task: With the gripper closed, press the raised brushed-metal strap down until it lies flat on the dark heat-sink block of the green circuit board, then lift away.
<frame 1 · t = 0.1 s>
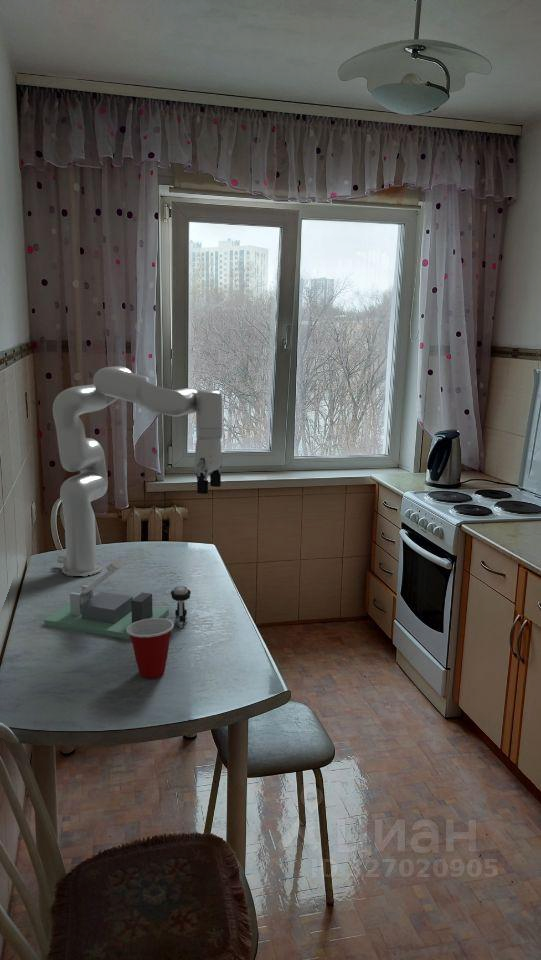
hand: (209, 489, 209), 31 cm above the table, tool pointing down, fingers open, 9 cm apart
retention strap: (98, 579, 191), point 11 cm above the table, hinge at 40.0°
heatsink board: (108, 619, 192), on the table
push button: (181, 625, 190), on the table
plastic cup: (151, 673, 164), on the table
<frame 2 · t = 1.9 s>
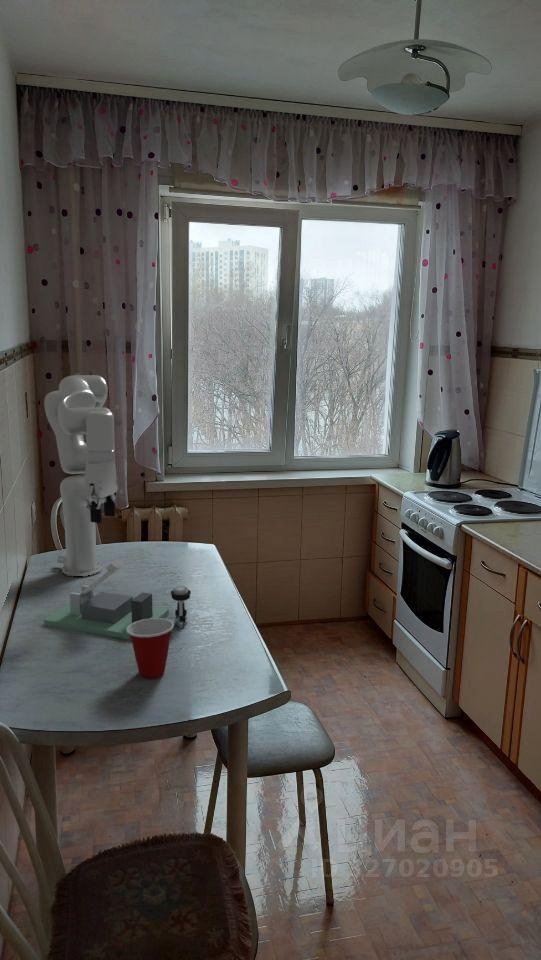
hand: (103, 518, 197), 26 cm above the table, tool pointing down, fingers open, 6 cm apart
nothing on the table moved.
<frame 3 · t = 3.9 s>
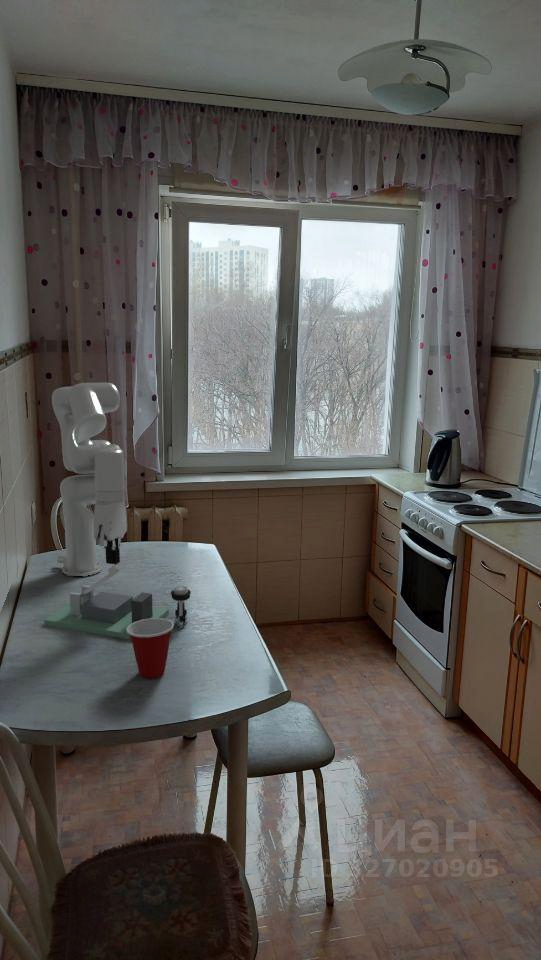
hand: (113, 562, 188), 17 cm above the table, tool pointing down, fingers closed
retention strap: (99, 580, 191), point 11 cm above the table, hinge at 37.0°, touching gripper
everything else where it was.
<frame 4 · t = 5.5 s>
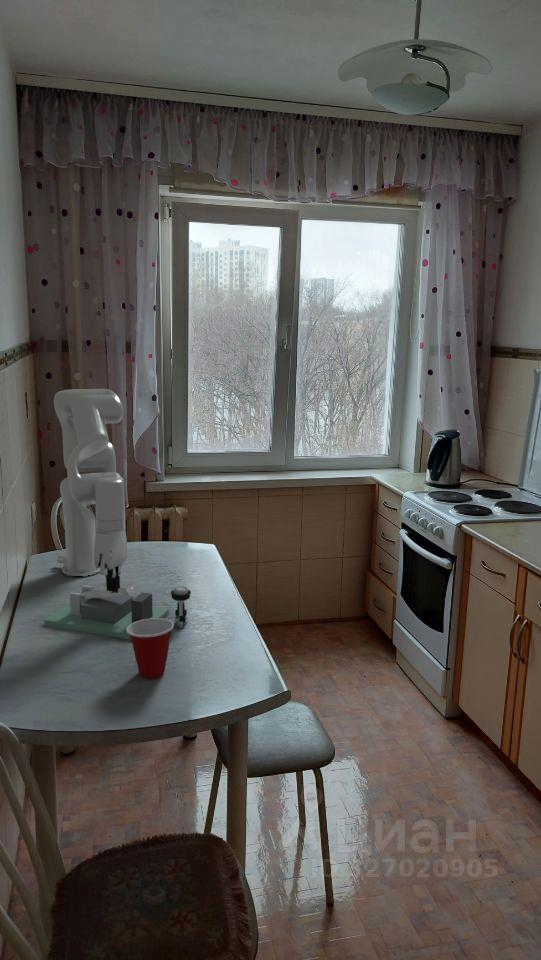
hand: (113, 590, 189), 9 cm above the table, tool pointing down, fingers closed
retention strap: (105, 591, 191), point 8 cm above the table, hinge at 12.0°, touching gripper
everything else where it was.
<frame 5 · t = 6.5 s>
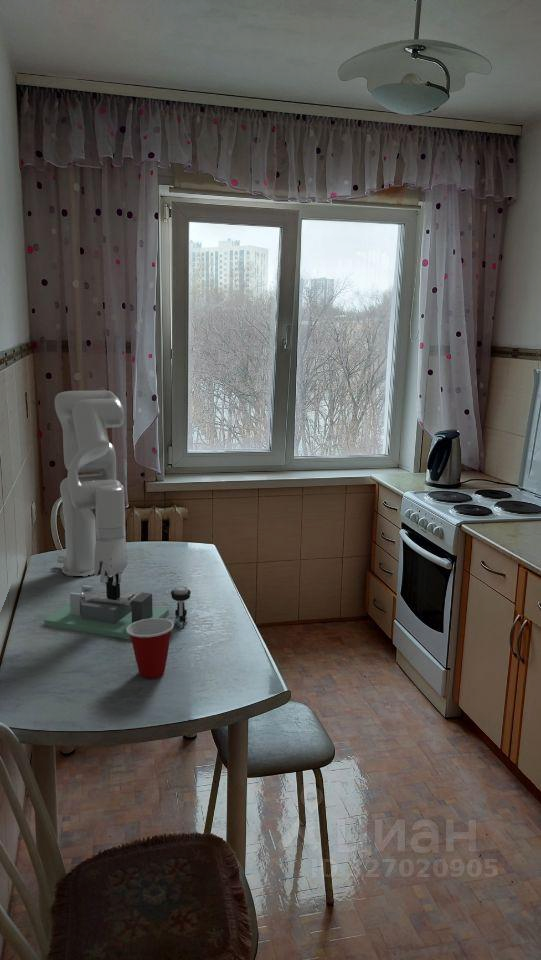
hand: (113, 597, 190), 7 cm above the table, tool pointing down, fingers closed
retention strap: (106, 596, 191), point 7 cm above the table, hinge at 2.0°, touching gripper
everything else where it was.
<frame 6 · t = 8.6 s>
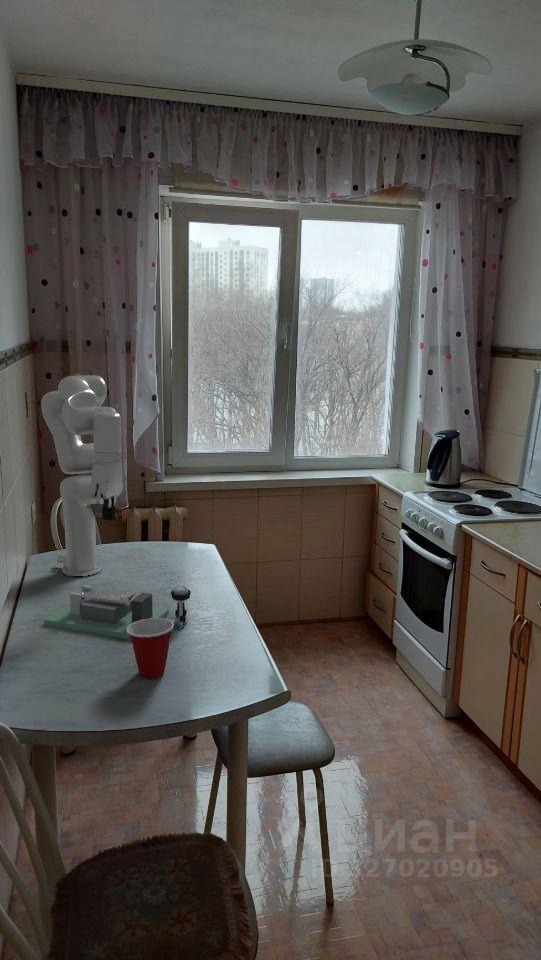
hand: (108, 519, 200), 25 cm above the table, tool pointing down, fingers closed
retention strap: (106, 596, 191), point 7 cm above the table, hinge at 1.9°
everything else where it was.
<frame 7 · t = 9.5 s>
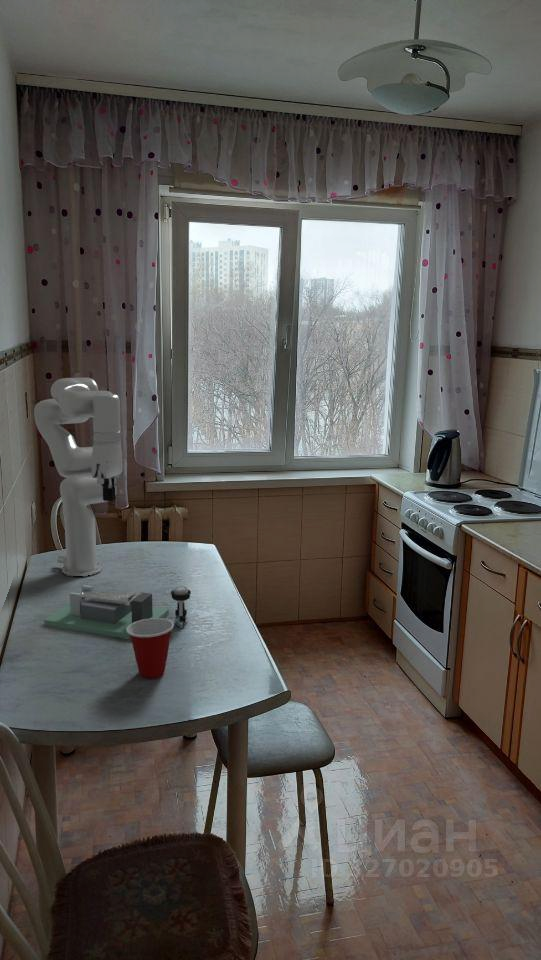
hand: (109, 500, 203), 29 cm above the table, tool pointing down, fingers closed
nothing on the table moved.
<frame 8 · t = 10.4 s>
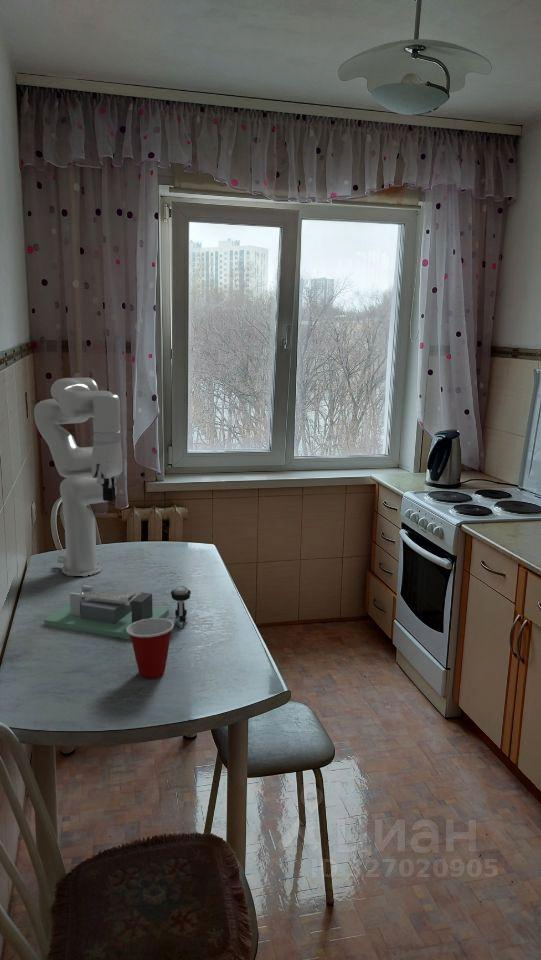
hand: (109, 500, 203), 29 cm above the table, tool pointing down, fingers closed
nothing on the table moved.
at the end: retention strap at +2° (first picture: +40°); the gripper is holding nothing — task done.
